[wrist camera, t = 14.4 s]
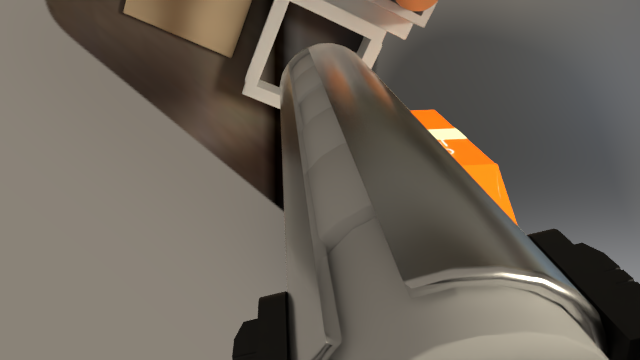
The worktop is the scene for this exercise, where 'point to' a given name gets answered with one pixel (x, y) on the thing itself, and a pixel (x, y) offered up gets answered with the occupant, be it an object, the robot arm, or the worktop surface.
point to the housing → (344, 9)
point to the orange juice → (467, 157)
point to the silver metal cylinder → (405, 237)
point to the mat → (195, 20)
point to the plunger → (416, 4)
